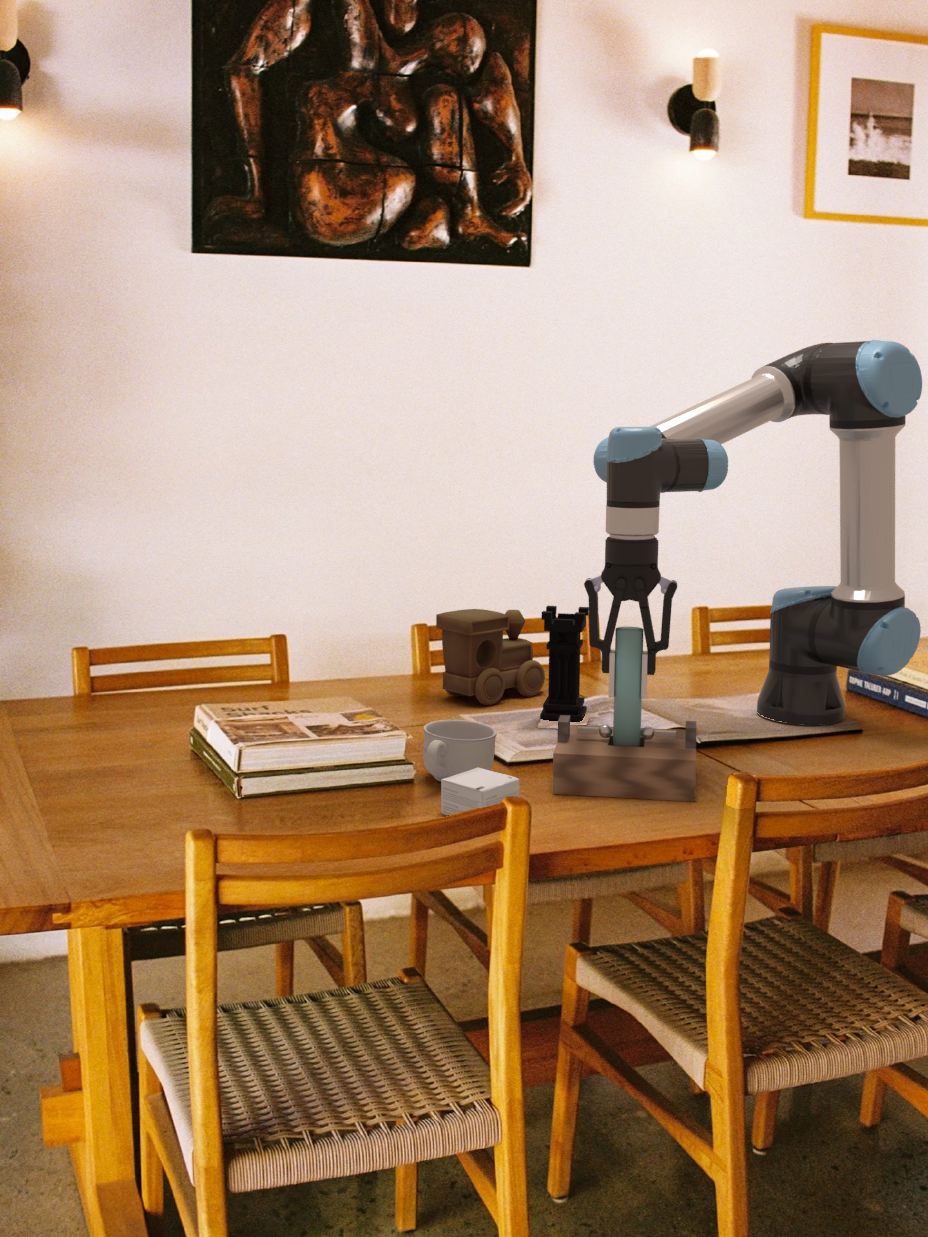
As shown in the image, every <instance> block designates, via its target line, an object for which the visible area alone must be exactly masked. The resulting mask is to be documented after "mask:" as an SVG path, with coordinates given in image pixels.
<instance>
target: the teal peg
mask: <svg viewBox="0 0 928 1237" xmlns="http://www.w3.org/2000/svg"><path fill="white" fill-rule="evenodd" d="M614 634H615V639H614V640H615V643H614V645H615V646H614V650H615V683H614V697H613V718H612V719H613V723H612V724H613V725H612V727H613V746H630V747H640V737H641V728H642V699H643V698H641V683H642V653H643V651H644V628H642V627H638V626H619V627H615V633H614Z"/></svg>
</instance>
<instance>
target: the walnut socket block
mask: <svg viewBox="0 0 928 1237" xmlns="http://www.w3.org/2000/svg"><path fill="white" fill-rule="evenodd" d="M578 726H584V727H598V735H594V734H577V728H578ZM601 726H602V725H570V716H567V715H560V717H559V720H558V729H556V731H557V735H556V736H557V737H556V739H557V740H556V745H555V747H554V750H553V754H552V755H553V756H552V795H568V796H569V795H570V796H588V797H602V798H603V797H604V798H622V799H623V798H624V799H637V800H638V799H642V800H657V801H658V800H660V801H675V802H677V801H679V802H692V803H693V802H696V778H697V728H698V727H697V721H694V720H686V721H685V729H673V728H672V729H671V728H653V727H651V728H652V729H653V730H654V737H653V738H652V739H650V740H645V739H643V738H642V736H641V737H640V747H630V746H613V726H610V727H611V728H612V735H611V736H610V737H608V738H603V737H601V736H600V734H599V728H600V727H601ZM643 728H644V727H641V730H642V729H643ZM655 730H670V731H676V738H657V737H655Z"/></svg>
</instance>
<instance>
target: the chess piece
mask: <svg viewBox="0 0 928 1237" xmlns="http://www.w3.org/2000/svg"><path fill="white" fill-rule="evenodd" d="M557 607H558V606H557V605H547V606H546V607H545V610H543V611H541V620H543V631H544V632H549V633H548V634H549V635H548V639H549V641H548V642H547V643H546V644H545V645H546V650H548V695H547V697H546V698H545V701H544V702H543V703H542V710H541V711H540V712H541V713H540V714H539V720H540V719H543V720H549V721H558V720H559V717H560V715H567V716H570V722H580V721H582V720H583V718H584V716H585V714H586V713H587V710H588V708H587V705H584V703H585V697H580V688H581V687H580V683H581V682H580V681H581V680H580V679H581V676H580V675H581V648H582V646H584V645H583V644H584V639H581V638H582V637H581V634H582V633H583V632H584V631H585V630H584V629H585V628H586V626H587V616H588V617H589V606H579V607H578V609H577V610H578V612H577V611H576V612H575V613H562V612H561V613H560V612H558V613H557Z"/></svg>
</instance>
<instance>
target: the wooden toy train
mask: <svg viewBox="0 0 928 1237" xmlns="http://www.w3.org/2000/svg"><path fill="white" fill-rule="evenodd" d="M435 622H436V624H435V629H438V630H441V644H442V648H441V649H442V658H443V663H444V664H443V666H444V670H445V671H443V672H442V690H444V691H445V692H446V693H447V694H448V695H449V696H451V697H453V698H455V697H456V698H458V697H462V696H467V697H472V696H475V697H476V699H477V701H478V702H479V703H480V704H481V705H483V706H492V705H494V704H497V703H498V702H499V701H500V700H501V698H502V697H503V695H504V692H505V690H507V689H510V688H511V689H512V688H516V689H517V692H519V693H520V695H522V696H523V697H525V698H527V697H533V696H535V695H537V694H539V692H540V691H541V690H542V688H543V686H544V684H545V677H546V676H545V675H546V673H545V670H544V667H543V666H542V664H541V663H540V662H539V661H537V660H535V659H534V648H533V642H532V641H530V640H528V639H525V638H522V637H521V638H520V637H519V636H520V634H521V632H522V630H523V628H524V626H525V623H526V619H525V617H524V616H523V614H522V612H521V611H520V609H507V610H506V612H505V613H502V612H500V611H495V610H490V609H482V608H481V609H480V608H467V609H458V610H452V611H445V612H441V613H438V614H436V618H435ZM504 631H505V632H506V635H507V637H508V638H507V637H506V638H504Z"/></svg>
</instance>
